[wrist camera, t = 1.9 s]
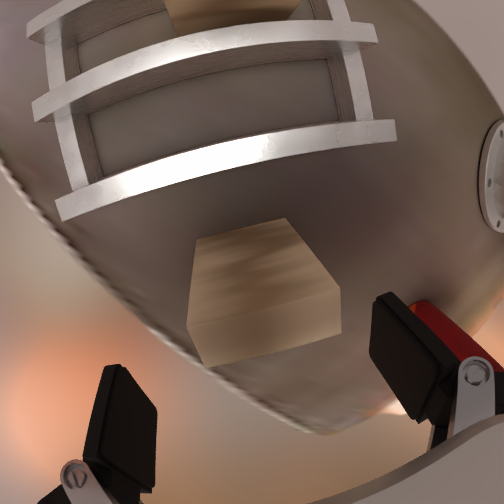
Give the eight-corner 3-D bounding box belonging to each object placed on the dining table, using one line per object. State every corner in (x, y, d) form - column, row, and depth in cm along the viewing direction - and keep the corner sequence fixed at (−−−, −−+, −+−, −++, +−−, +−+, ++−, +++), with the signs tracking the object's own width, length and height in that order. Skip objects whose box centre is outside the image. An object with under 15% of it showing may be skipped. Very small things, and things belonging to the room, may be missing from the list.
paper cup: (376, 319, 24) (457, 436, 11) (437, 277, 23) (531, 366, 10) (388, 361, 27) (447, 456, 14) (440, 325, 26) (508, 405, 13)
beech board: (285, 217, 18) (340, 288, 10) (290, 249, 19) (341, 333, 11) (196, 239, 18) (186, 326, 10) (206, 270, 19) (205, 367, 11)
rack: (318, -20, 11) (344, -49, 7) (357, 136, 17) (397, 140, 12) (61, 39, 11) (27, 23, 7) (94, 199, 16) (62, 221, 12)
